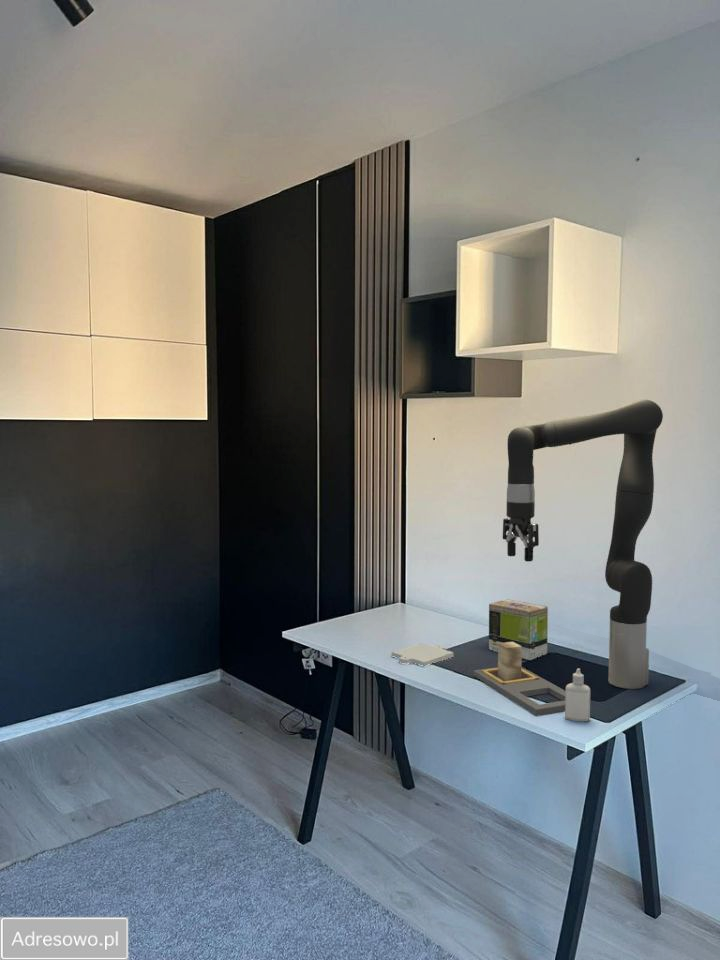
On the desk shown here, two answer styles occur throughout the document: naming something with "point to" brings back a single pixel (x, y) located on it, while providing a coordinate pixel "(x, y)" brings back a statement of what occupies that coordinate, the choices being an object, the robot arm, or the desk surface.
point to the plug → (509, 661)
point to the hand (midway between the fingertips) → (519, 558)
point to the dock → (525, 690)
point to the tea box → (519, 626)
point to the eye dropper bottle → (577, 699)
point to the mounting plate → (423, 654)
